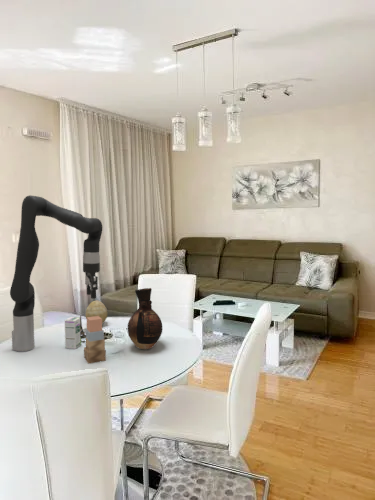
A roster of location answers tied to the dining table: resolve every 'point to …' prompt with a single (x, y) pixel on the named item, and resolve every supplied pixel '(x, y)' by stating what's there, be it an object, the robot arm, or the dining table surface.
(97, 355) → the tower base
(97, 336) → the tower top
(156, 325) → the ceramic vessel
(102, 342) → the tower mid
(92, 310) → the fossilized egg
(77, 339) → the syrup box
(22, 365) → the dining table surface
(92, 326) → the cube
